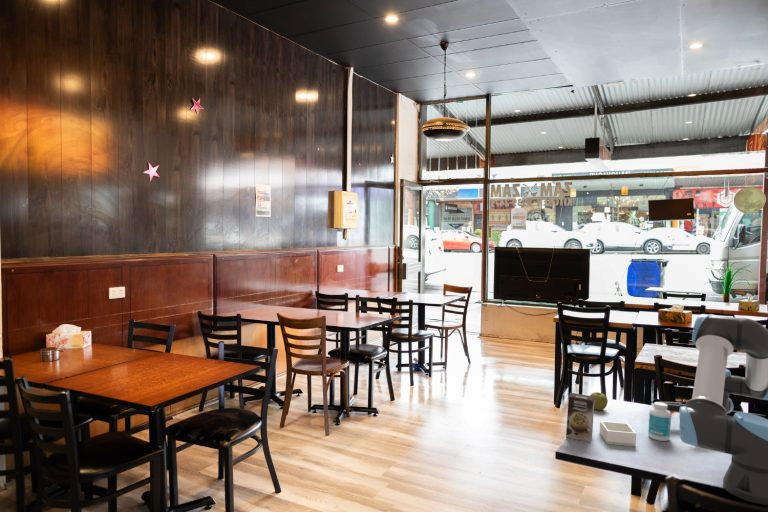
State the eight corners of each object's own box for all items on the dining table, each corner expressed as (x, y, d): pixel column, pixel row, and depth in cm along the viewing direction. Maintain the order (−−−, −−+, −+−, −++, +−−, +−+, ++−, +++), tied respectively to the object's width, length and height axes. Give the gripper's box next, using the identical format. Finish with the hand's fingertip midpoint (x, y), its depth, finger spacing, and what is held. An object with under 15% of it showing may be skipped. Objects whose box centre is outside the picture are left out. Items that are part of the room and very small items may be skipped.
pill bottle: (672, 443, 196) (674, 408, 195) (651, 440, 197) (653, 406, 196) (665, 435, 203) (668, 401, 202) (645, 433, 204) (647, 399, 204)
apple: (589, 411, 229) (590, 395, 228) (588, 405, 236) (589, 390, 236) (607, 413, 226) (608, 397, 226) (606, 407, 234) (607, 392, 233)
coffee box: (565, 437, 197) (567, 396, 196) (568, 432, 203) (570, 391, 202) (591, 443, 193) (593, 400, 192) (592, 437, 198) (595, 395, 198)
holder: (635, 446, 191) (636, 433, 191) (606, 443, 192) (607, 430, 192) (627, 435, 201) (627, 423, 201) (599, 433, 202) (600, 421, 202)
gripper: (734, 428, 201) (699, 436, 191) (673, 407, 223) (640, 413, 214) (735, 409, 200) (700, 416, 191) (674, 390, 223) (641, 396, 213)
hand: (668, 415), depth 202 cm, fingers open, 13 cm apart
